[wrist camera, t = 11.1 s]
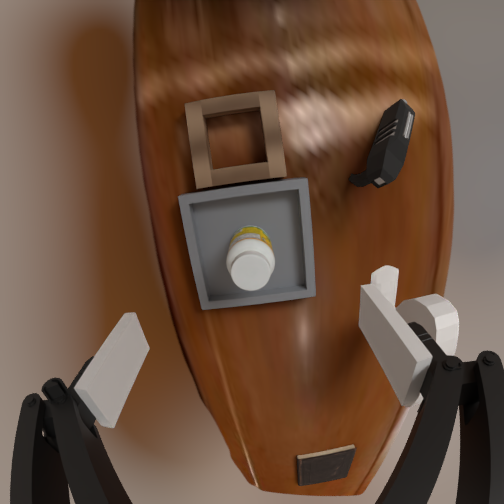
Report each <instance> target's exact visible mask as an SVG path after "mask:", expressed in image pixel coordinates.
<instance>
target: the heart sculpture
mask: <svg viewBox="0 0 504 504" xmlns="http://www.w3.org/2000/svg"><path fill="white" fill-rule="evenodd" d="M398 272H399V269H397V268H395V267H392V266H383V267H381V268H379V269H378V270H376V271H375V272H373V273H372V274H371V284H374V285H375V286H376V287H377V289H378V290H379V291H380V292H381V293H382V294H383V296H384V297H385V298H386V299H387V300H388V301H389V303H390V304H391V305H392V306H393V307H394V308H395V300H396V292H397V283H398ZM395 310H396V311H397V312H398V313H399V314H400V316H401V317H402V318H403V319H404V321H405V322H406V323H411V322H416V323H418V324H420V325H421V326H423V327H424V329H425V330H426V331H427V332H428V334H430V336H431V337H432V339H434V340H435V342H436V343H437V344H438V345H439V346H440V348H441V349H442V350H443V351H444V353H445V354H446V355H452V356H454V354H455V351H456V347H457V341H458V333H459V319H458V314H457V310H456V309H455V308H454V307H453V305H452V304H451V303H450V302H449V301H448V300H447V299H445V298H443V297H441V296H439V295H438V294H432V295H427V296H423V297H418V298H414V299H410V300H405V301H403V302H402V303H401V304H400V305H399V306H398V307H397V308H395ZM422 400H423V397H422V395H421V393H419V396H418V398H417V400H416V401H414V402H412V403H409V404H406V405H404V406H405V407H412V406H414V405H417V404H419V403H421V402H422Z"/></svg>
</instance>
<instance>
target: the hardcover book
mask: <svg viewBox="0 0 504 504" xmlns="http://www.w3.org/2000/svg"><path fill="white" fill-rule="evenodd" d="M355 452H356V448H355V447H354V444H353V445H349V446H345V447H341V448H336V449H332V450H327V451H322V452H317V453H311V454H305V455H297V471H298V485H299V486H304V485H310V484H316V483H322V482H327V481H332V480H336V479H341V478H345V477H347V474H348V471H349V469H350V466H351V463H352V460H353V457H354V455H355Z"/></svg>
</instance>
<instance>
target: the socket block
mask: <svg viewBox="0 0 504 504" xmlns="http://www.w3.org/2000/svg"><path fill="white" fill-rule="evenodd" d="M259 110H260V116H261V123H262V130H263V137H264V144H265V151H266V159H267V162H264V163H256V164H248V165H241V166H234V167H227V168H220V169H214V170H213V166H212V160H211V153H210V146H209V139H208V131H207V124H206V118H211V117H217V116H223V115H229V114H236V113H243V112H251V111H259ZM185 111H186V119H187V127H188V134H189V141H190V148H191V155H192V162H193V169H194V175H195V182H196V188H197V189H199V188H205V187H211V186H217V185H224V184H231V183H238V182H245V181H252V180H260V179H268V178H277V177H286V176H287V174H286V166H285V158H284V151H283V143H282V136H281V129H280V122H279V115H278V108H277V102H276V96H275V90H269V91H259V92H250V93H242V94H235V95H228V96H222V97H216V98H210V99H205V100H200V101H195V102H190V103H185Z"/></svg>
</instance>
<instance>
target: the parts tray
mask: <svg viewBox="0 0 504 504" xmlns="http://www.w3.org/2000/svg"><path fill="white" fill-rule="evenodd" d="M178 199H179V204H180V210H181V215H182V221H183V226H184V231H185V236H186V241H187V246H188V251H189V255H190V260H191V265H192V269H193V274H194V278H195V282H196V287H197V291H198V295H199V299H200V303H201V308H202V310H207V309H217V308H227V307H236V306H245V305H254V304H262V303H270V302H278V301H286V300H293V299H300V298H307V297H314V296H316V289H315V268H314V250H313V236H312V222H311V211H310V200H309V189H308V180H307V178H304V177H302V178H292V179H283V180H274V181H266V182H258V183H250V184H243V185H235V186H229V187H222V188H215V189H209V190H203V191H197V192H191V193H186V194H182V195H180V196H178ZM245 226H257V227H259V228H261V229H263V230H264V231H265V232H266V233H267V235H268V236H269V238H270V241H271V245H272V249H273V253H274V257H275V266H274V270H273V272H272V274H271V276H270V278H269V281H268V282H267V284H266V285H265V286H264V287H262V288H260V289H258V290H254V291H248V290H244V289H241V288H240V287H238V286H237V285H236V284H235V283H234V281H233V280H232V277H231V275H230V273H229V271H228V269H227V264H226V260H227V254H228V250H229V246H230V241H231V239H232V236H233V235H234V233H235V232H236V231H237V230H238V229H240V228H242V227H245Z"/></svg>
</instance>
